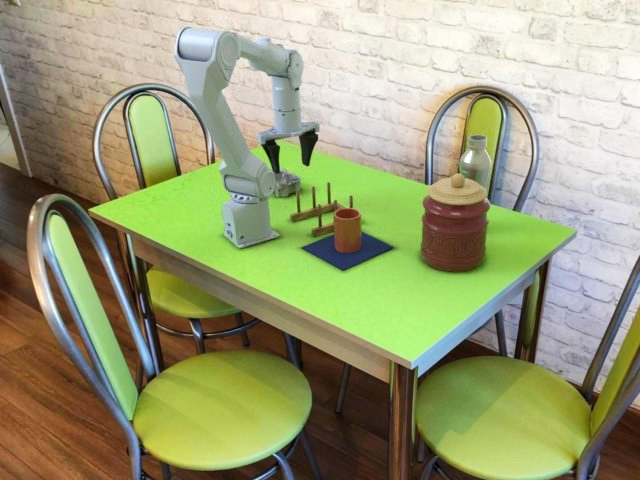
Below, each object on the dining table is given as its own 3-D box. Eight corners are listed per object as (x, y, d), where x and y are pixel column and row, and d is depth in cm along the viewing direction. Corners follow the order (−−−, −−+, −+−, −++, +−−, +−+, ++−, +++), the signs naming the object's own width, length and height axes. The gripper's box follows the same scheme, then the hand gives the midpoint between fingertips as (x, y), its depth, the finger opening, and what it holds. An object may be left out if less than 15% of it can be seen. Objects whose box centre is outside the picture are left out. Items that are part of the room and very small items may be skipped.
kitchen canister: (430, 276, 134) (434, 190, 124) (412, 245, 144) (415, 164, 135) (494, 269, 136) (503, 184, 126) (472, 239, 146) (479, 159, 137)
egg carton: (256, 186, 172) (254, 170, 170) (282, 178, 176) (280, 163, 173) (279, 199, 165) (277, 183, 162) (305, 191, 168) (304, 175, 166)
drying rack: (313, 236, 148) (312, 207, 145) (290, 220, 155) (288, 191, 151) (360, 222, 154) (360, 193, 150) (335, 207, 161) (334, 179, 157)
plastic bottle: (485, 235, 148) (494, 144, 137) (453, 232, 149) (459, 142, 138) (486, 222, 153) (495, 133, 142) (455, 220, 155) (462, 131, 144)
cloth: (343, 271, 136) (343, 269, 136) (301, 248, 144) (301, 247, 144) (393, 248, 144) (394, 246, 144) (351, 227, 152) (351, 226, 152)
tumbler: (344, 255, 140) (343, 222, 136) (329, 245, 144) (328, 212, 140) (366, 248, 143) (366, 215, 139) (351, 238, 147) (350, 205, 143)
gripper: (265, 118, 142) (270, 181, 150) (325, 106, 149) (328, 167, 156) (249, 110, 147) (255, 171, 154) (309, 98, 154) (312, 157, 161)
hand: (291, 168), depth 156 cm, fingers open, 7 cm apart
